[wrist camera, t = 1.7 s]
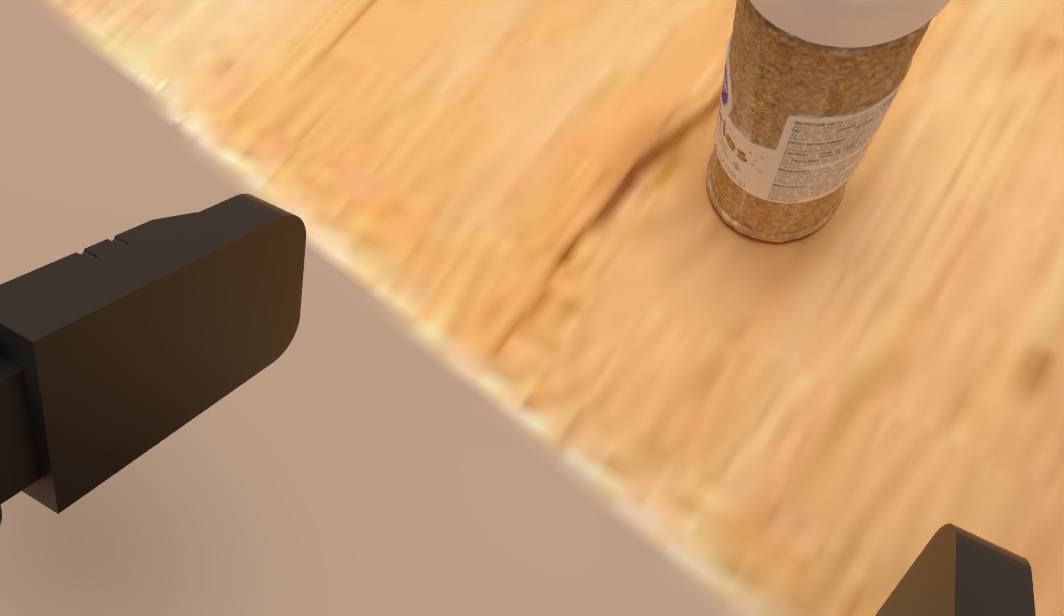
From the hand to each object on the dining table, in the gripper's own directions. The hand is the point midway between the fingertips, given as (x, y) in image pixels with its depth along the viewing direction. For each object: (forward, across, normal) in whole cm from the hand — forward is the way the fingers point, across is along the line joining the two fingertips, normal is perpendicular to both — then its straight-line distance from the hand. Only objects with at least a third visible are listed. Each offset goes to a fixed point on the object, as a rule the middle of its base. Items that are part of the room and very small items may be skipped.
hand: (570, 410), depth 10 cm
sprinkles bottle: (+20, 0, +4) cm, 21 cm away
